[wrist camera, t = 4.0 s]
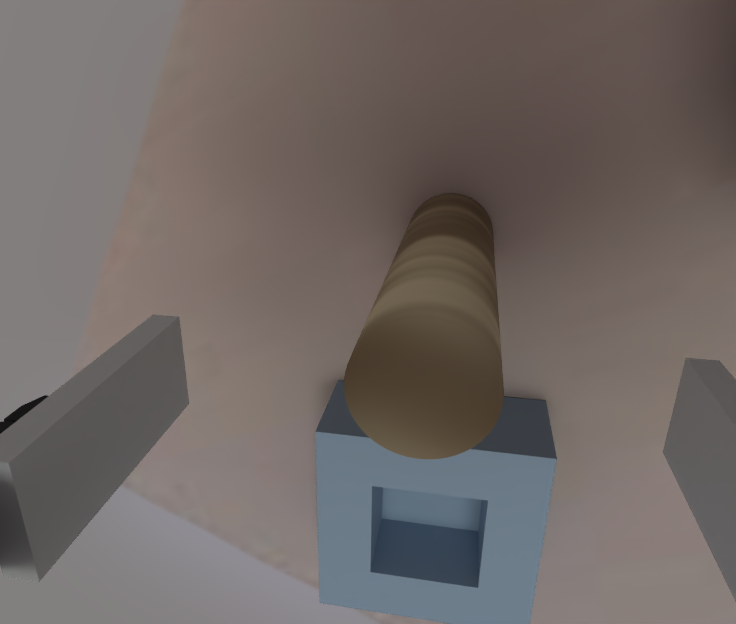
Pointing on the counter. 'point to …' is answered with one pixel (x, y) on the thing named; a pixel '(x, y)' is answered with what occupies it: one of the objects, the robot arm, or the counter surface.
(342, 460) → the socket block
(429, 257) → the dowel
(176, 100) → the counter surface
